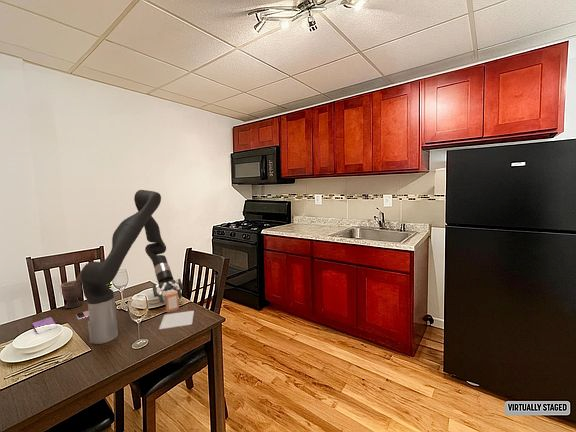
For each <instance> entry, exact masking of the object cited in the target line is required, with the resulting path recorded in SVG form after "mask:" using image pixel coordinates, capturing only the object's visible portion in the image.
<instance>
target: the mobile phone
mask: <svg viewBox="0 0 576 432" xmlns="http://www.w3.org/2000/svg"><path fill="white" fill-rule="evenodd" d="M75 316H77V317H76V318H77V320H82V318H83V319H86V318H89V317H88V316H89V310H86V311H82V312H79V313H76V314H75ZM85 317H86V318H85Z"/></svg>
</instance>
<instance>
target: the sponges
mask: <svg viewBox="0 0 576 432" xmlns="http://www.w3.org/2000/svg"><path fill="white" fill-rule="evenodd" d="M48 324H56V322H55V321H54V319H53V318H52V317H51V316H50V317H47V318H44V319H40V320H38V321H35V322H32V327H33V326H34V327H33V329H34V328H36V327H39V326H43V325H48Z"/></svg>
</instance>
